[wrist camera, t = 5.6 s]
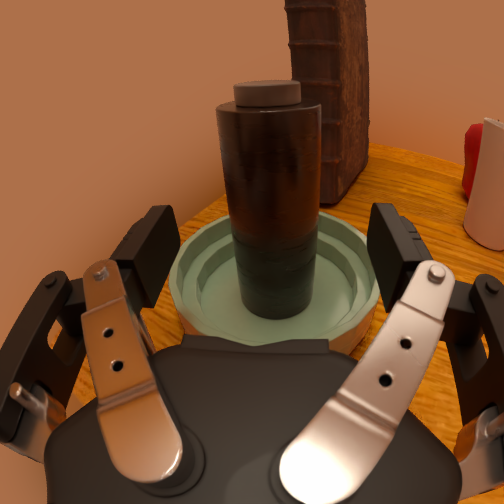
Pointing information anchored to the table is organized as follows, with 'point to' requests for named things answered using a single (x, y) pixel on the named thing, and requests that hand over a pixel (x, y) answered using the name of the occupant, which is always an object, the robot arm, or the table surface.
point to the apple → (471, 156)
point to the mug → (488, 190)
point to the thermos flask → (272, 193)
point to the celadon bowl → (270, 331)
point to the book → (334, 83)
